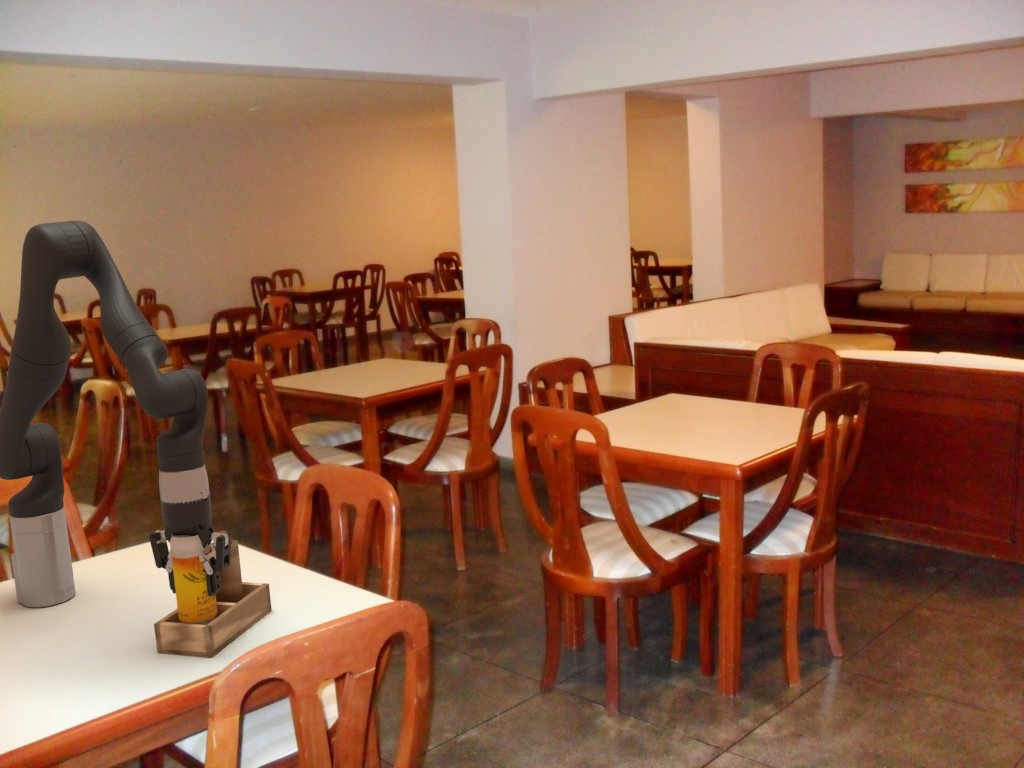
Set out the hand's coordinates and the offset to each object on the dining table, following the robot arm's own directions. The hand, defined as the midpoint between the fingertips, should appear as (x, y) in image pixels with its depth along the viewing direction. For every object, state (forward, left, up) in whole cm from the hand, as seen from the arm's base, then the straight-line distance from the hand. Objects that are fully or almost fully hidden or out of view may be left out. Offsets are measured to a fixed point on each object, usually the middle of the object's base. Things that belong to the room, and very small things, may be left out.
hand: (196, 592), depth 162 cm
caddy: (0, +5, -9) cm, 10 cm away
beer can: (0, 0, -5) cm, 5 cm away
